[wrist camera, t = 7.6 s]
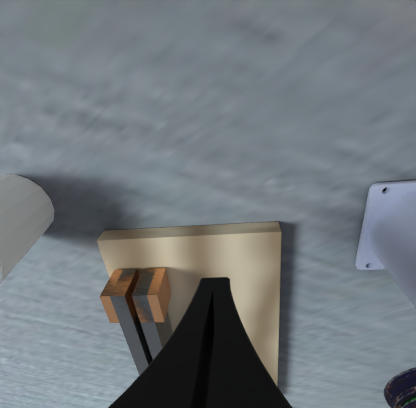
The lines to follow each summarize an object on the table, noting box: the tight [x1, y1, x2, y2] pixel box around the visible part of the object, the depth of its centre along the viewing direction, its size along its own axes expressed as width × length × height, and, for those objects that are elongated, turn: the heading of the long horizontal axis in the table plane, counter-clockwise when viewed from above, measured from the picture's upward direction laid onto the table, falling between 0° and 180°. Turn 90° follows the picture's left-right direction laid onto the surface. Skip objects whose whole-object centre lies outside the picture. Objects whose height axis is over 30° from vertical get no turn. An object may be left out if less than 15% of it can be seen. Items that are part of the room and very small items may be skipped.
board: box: [97, 221, 281, 385], centre depth 28 cm, size 15×25×2 cm, turn 6°
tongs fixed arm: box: [100, 269, 153, 375], centre depth 26 cm, size 4×21×3 cm, turn 6°
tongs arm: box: [132, 268, 173, 359], centre depth 26 cm, size 2×19×3 cm, turn 6°
